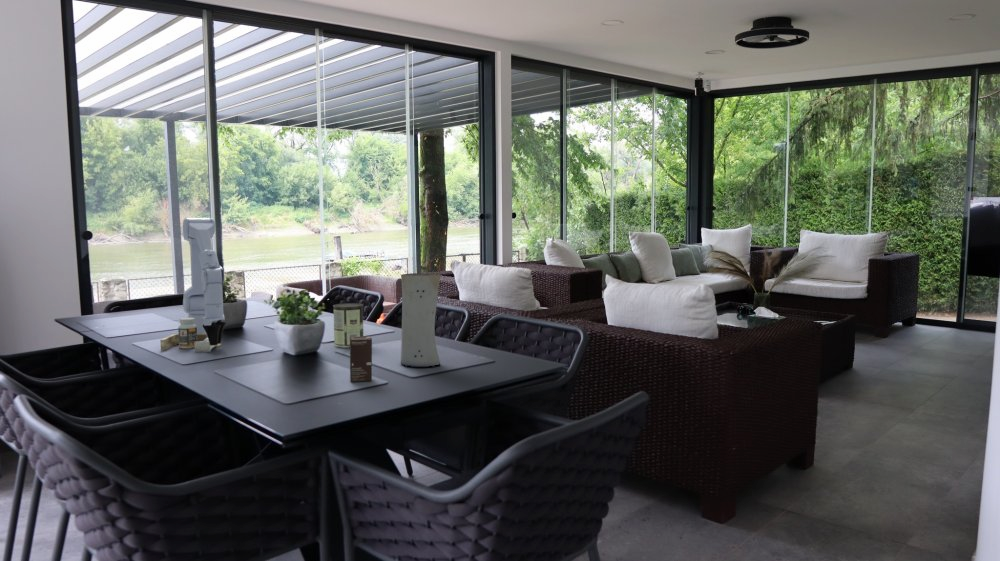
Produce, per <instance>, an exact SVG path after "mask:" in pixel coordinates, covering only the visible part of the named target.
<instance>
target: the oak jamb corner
mask: <svg viewBox="0 0 1000 561" xmlns="http://www.w3.org/2000/svg"><path fill="white" fill-rule="evenodd" d="M206 338H208V336H207V334H197V341H203V340H205V339H206ZM176 344H179V333H173V334H170V335H168V336H166V337H164V338H162V339H160V351H167V350H168V349H170V348H172V347H175V346H176Z"/></svg>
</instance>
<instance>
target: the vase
mask: <svg viewBox="0 0 1000 561" xmlns="http://www.w3.org/2000/svg"><path fill="white" fill-rule="evenodd" d="M441 276H442V275H441V273H429V272H428V273H422V272H421V273H419V272H418V273H413V272H412V273H411V272H410V273H404V274H403V273H402V274H401V275H400V279H401V291H402V297H401V298H402V301H401V304H402V305H401V306H402V308H401V309H402V310H401V346H400V347H401V352H400V364H401V365H402V366H404V365H405V366H404V367H406V366H411V368H428V367H429V366H432V367H436V366H435V365H439V364H440V365H441V362H440V361H441V360H440V358H439V354H438V348H437V344H436V334H435V332H436V331H435V324H436V323H435V322H436V313H437V304H438V303H437V302H438V294H439V286H440V280H441ZM429 368H430V367H429Z"/></svg>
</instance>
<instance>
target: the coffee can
mask: <svg viewBox="0 0 1000 561" xmlns="http://www.w3.org/2000/svg"><path fill="white" fill-rule="evenodd" d="M332 307H333V335H334V336H333V338H334V341H333V342H334V344H333V346H334V347H335V348H342V349H343V348H345V349H346V348H348V349H350V348H349V347H350V337H364V304H363V303H360V302H359V303H358V302H356V303H355V302H347V303H344V302H343V303H337V304H333V305H332Z"/></svg>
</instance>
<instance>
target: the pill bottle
mask: <svg viewBox="0 0 1000 561" xmlns="http://www.w3.org/2000/svg"><path fill="white" fill-rule="evenodd" d="M194 322H195V318H188V317H180V318H179V324H180V325H179V326H178V328H177V329H178V331H177V332H178V333H177V334H179V345H178V347H179V348H180V349H182V350H183V349H195V342H196V341H197V326H196V325H195V324H194Z"/></svg>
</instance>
